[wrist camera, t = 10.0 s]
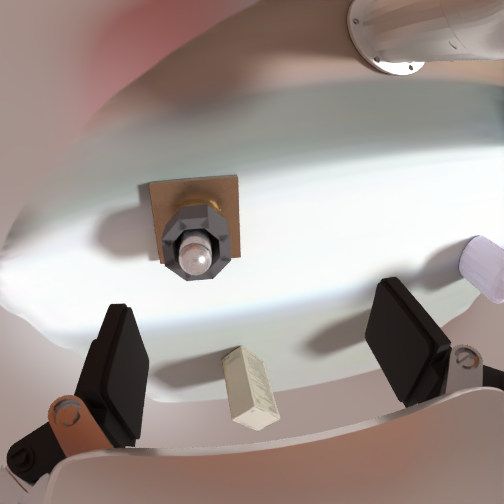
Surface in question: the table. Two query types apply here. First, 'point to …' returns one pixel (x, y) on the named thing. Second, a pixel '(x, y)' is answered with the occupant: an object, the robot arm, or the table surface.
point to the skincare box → (249, 390)
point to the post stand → (196, 193)
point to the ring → (195, 220)
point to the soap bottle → (484, 267)
